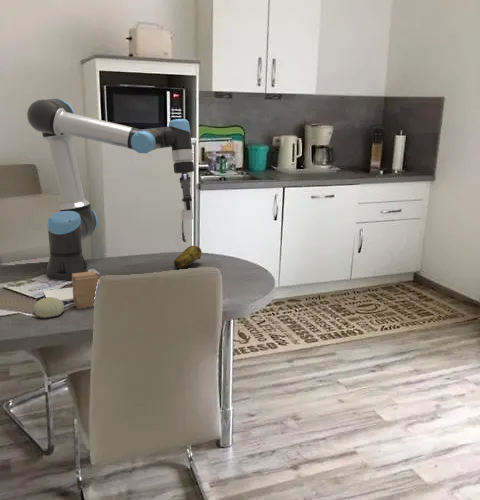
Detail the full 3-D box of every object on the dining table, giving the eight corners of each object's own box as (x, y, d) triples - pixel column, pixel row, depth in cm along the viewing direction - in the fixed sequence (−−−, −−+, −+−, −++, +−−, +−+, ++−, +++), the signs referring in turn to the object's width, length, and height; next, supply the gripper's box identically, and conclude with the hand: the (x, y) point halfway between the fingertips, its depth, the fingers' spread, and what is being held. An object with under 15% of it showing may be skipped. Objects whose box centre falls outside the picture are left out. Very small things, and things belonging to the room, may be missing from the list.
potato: (168, 265, 229) (168, 246, 227) (197, 261, 235) (197, 243, 233) (176, 271, 222) (176, 251, 220) (206, 267, 228) (206, 248, 226)
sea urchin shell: (35, 316, 171) (32, 292, 174) (35, 326, 177) (32, 303, 180) (66, 312, 174) (62, 289, 178) (65, 322, 181) (61, 299, 184)
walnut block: (73, 301, 188) (71, 273, 185) (94, 299, 191) (93, 271, 188) (77, 309, 182) (75, 280, 179) (99, 306, 185) (98, 277, 182)
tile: (43, 294, 194) (43, 290, 193) (76, 290, 198) (76, 286, 198) (48, 305, 184) (48, 301, 184) (82, 300, 189) (82, 297, 189)
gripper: (194, 158, 198) (200, 218, 200) (192, 163, 222) (197, 217, 224) (172, 160, 197) (179, 220, 199) (173, 165, 222) (179, 218, 224)
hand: (189, 218), depth 212 cm, fingers open, 13 cm apart
